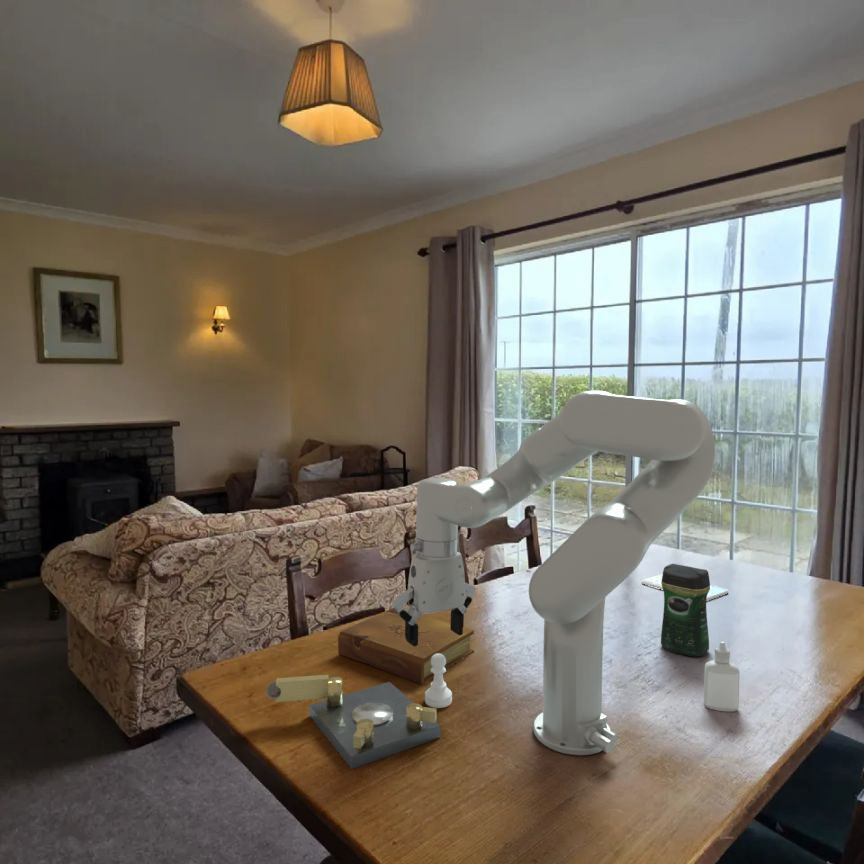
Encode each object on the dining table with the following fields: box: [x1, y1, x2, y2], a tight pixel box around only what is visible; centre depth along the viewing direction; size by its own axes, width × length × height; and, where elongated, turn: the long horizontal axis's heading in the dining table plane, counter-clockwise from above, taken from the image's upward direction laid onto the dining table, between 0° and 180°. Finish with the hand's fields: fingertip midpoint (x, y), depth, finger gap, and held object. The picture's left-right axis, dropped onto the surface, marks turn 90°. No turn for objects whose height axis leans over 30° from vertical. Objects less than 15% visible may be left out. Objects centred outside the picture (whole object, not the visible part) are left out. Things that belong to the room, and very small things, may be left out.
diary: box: [337, 607, 475, 686], centre depth 133 cm, size 23×19×6 cm
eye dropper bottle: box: [703, 641, 740, 713], centre depth 110 cm, size 4×6×12 cm
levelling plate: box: [308, 681, 441, 770], centre depth 104 cm, size 18×16×5 cm
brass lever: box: [265, 674, 344, 707], centre depth 107 cm, size 13×3×5 cm, turn 98°
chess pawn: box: [424, 653, 453, 709], centre depth 112 cm, size 5×5×9 cm
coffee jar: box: [660, 563, 711, 658], centre depth 134 cm, size 10×8×19 cm
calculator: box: [641, 573, 729, 602], centre depth 175 cm, size 13×20×2 cm, turn 35°
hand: (434, 638), depth 112 cm, fingers open, 9 cm apart
